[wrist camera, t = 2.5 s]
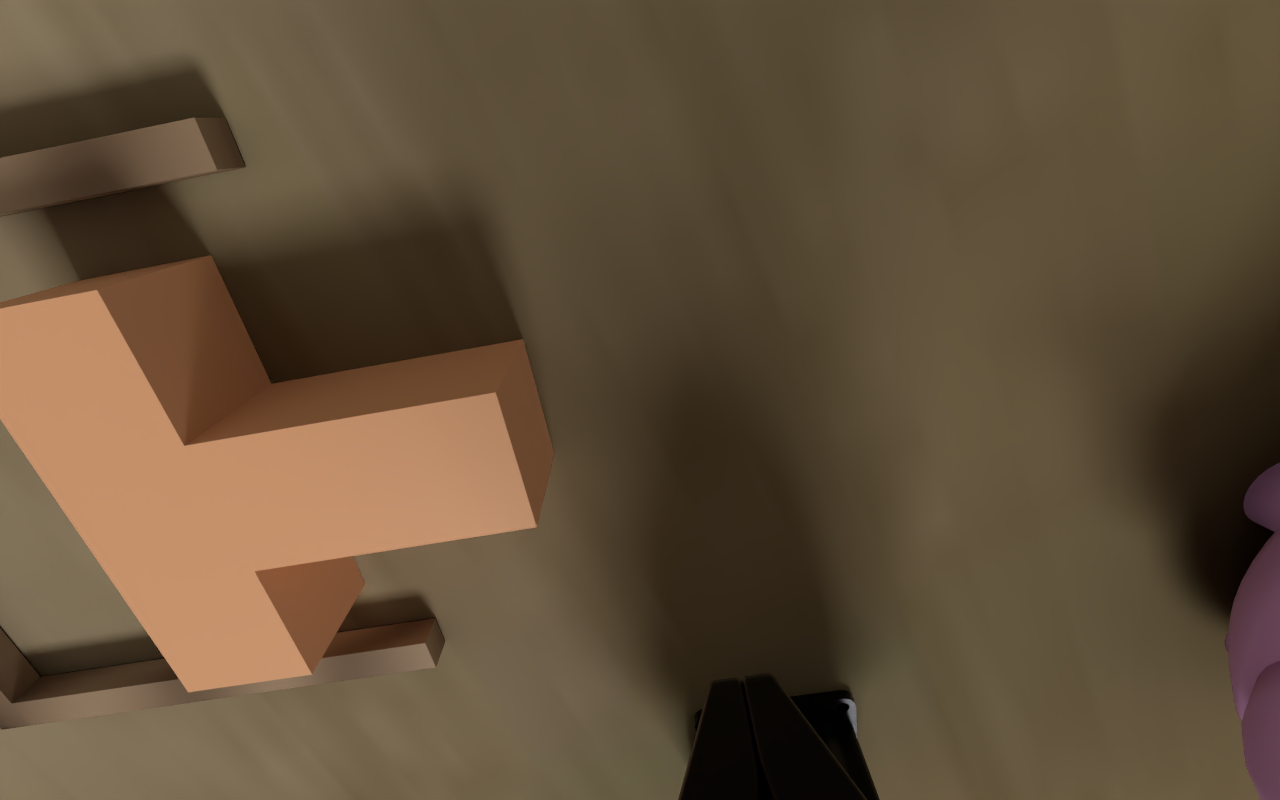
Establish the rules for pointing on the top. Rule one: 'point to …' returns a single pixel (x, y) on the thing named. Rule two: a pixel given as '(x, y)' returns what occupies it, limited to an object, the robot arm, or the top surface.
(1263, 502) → the teapot
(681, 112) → the top surface
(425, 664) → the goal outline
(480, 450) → the t puck
